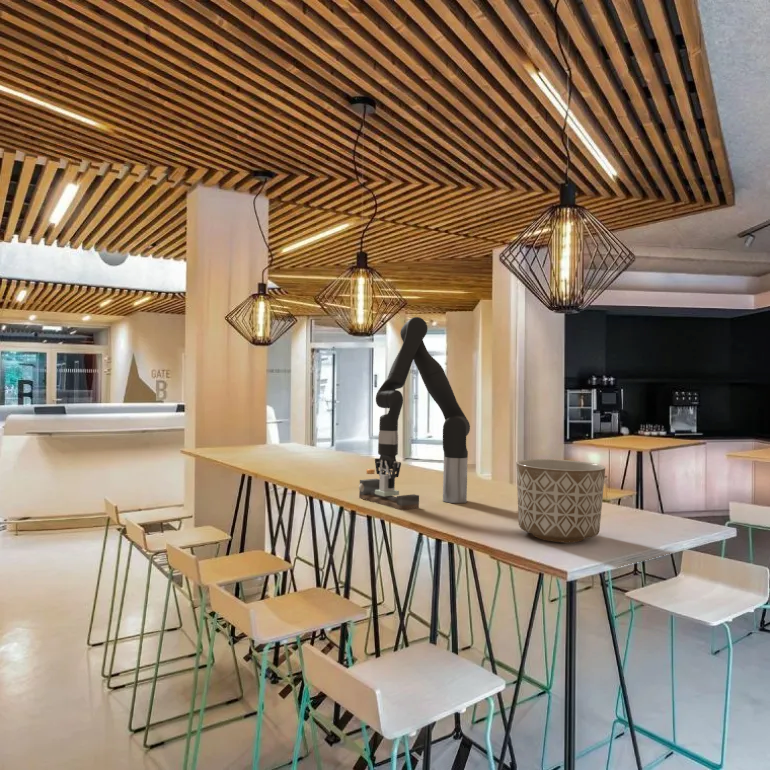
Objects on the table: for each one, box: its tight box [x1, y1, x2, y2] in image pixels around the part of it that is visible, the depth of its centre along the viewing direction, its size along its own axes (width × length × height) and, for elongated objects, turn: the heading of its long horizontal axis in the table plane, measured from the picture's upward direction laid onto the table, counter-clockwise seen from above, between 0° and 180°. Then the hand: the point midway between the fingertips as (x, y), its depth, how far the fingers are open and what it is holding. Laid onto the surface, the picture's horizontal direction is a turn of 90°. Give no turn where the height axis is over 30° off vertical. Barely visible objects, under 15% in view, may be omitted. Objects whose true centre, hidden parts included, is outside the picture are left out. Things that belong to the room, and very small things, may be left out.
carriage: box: [375, 473, 400, 496], centre depth 237 cm, size 6×7×8 cm
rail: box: [358, 478, 420, 511], centre depth 236 cm, size 27×8×7 cm, turn 37°
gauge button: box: [365, 468, 376, 475], centre depth 246 cm, size 3×3×2 cm
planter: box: [516, 458, 606, 543], centre depth 190 cm, size 26×26×22 cm
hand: (387, 487), depth 237 cm, fingers open, 4 cm apart
